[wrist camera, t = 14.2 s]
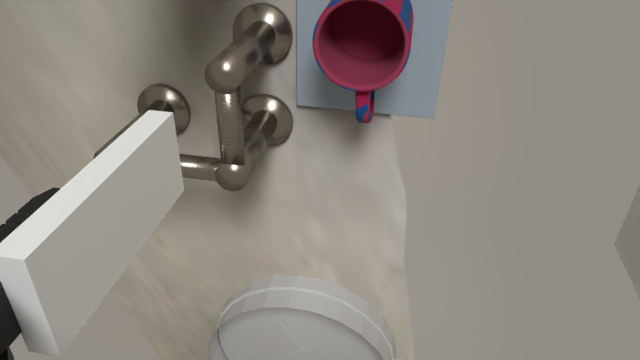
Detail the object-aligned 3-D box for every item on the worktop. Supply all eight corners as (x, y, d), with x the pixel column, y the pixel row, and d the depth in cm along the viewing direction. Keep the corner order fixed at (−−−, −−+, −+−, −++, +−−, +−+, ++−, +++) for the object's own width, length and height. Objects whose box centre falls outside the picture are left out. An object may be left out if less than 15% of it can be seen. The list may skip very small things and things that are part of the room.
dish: (186, 306, 64) (169, 337, 60) (331, 247, 54) (322, 279, 50) (287, 410, 72) (278, 444, 67) (429, 375, 62) (429, 412, 58)
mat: (298, -42, 39) (296, -40, 39) (457, -33, 37) (457, -31, 37) (298, 102, 46) (296, 105, 45) (433, 115, 44) (433, 118, 43)
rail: (120, -8, 43) (43, 26, 34) (292, 4, 41) (256, 43, 32) (145, 129, 50) (85, 185, 41) (293, 145, 48) (263, 208, 39)
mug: (419, -22, 38) (418, -1, 32) (400, 102, 43) (396, 138, 38) (331, -30, 39) (314, -11, 33) (323, 92, 44) (307, 126, 38)
